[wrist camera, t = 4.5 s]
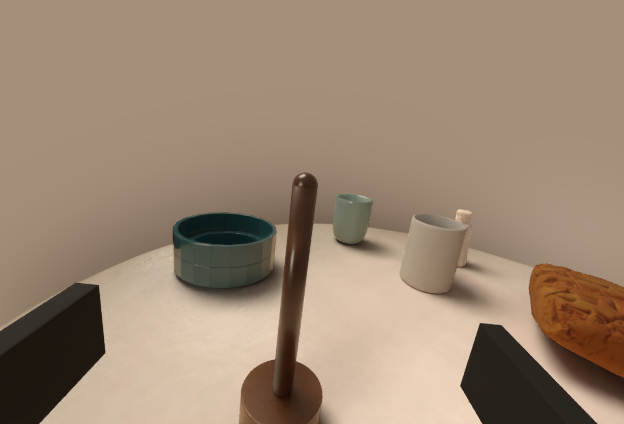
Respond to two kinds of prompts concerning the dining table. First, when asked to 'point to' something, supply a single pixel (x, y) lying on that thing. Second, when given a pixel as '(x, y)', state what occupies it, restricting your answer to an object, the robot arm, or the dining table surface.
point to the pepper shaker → (464, 218)
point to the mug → (432, 253)
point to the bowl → (223, 249)
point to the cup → (351, 217)
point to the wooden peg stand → (288, 332)
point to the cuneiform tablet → (580, 314)
